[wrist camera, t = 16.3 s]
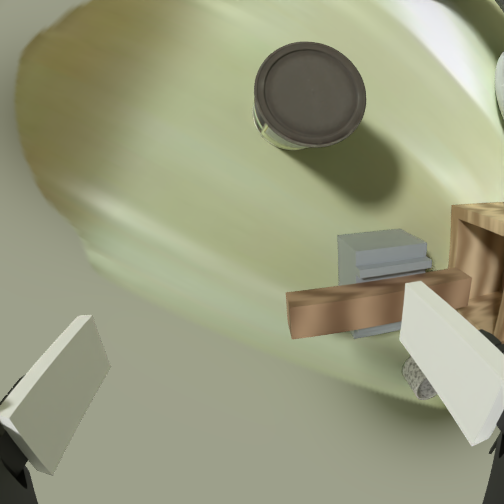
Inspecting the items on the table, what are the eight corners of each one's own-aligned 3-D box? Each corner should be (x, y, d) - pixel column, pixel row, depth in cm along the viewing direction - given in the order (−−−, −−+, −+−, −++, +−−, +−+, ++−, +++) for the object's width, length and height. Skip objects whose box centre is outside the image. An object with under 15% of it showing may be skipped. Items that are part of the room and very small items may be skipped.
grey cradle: (338, 311, 47) (357, 344, 37) (337, 235, 43) (359, 255, 34) (396, 301, 46) (423, 330, 37) (400, 228, 43) (432, 246, 34)
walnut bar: (287, 322, 38) (291, 339, 34) (285, 292, 37) (290, 307, 33) (452, 293, 38) (467, 305, 34) (455, 267, 36) (472, 277, 33)
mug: (402, 383, 52) (415, 405, 45) (400, 359, 50) (415, 380, 44) (445, 363, 51) (461, 382, 45) (445, 338, 49) (463, 356, 43)
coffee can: (236, 103, 38) (231, 76, 24) (299, 64, 36) (323, 24, 23) (281, 166, 40) (298, 169, 27) (343, 125, 39) (386, 112, 25)
